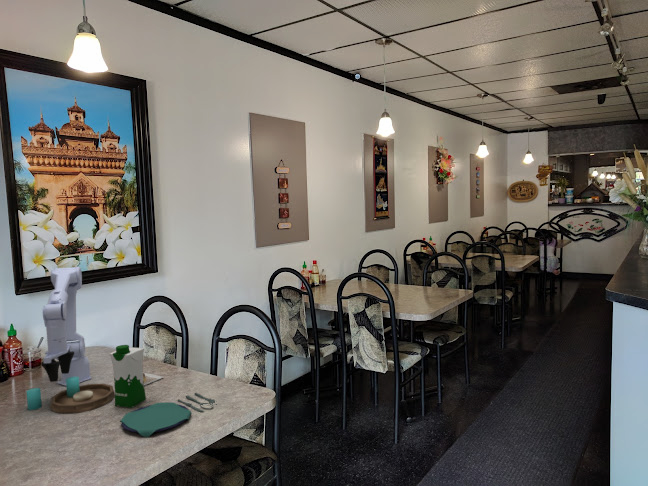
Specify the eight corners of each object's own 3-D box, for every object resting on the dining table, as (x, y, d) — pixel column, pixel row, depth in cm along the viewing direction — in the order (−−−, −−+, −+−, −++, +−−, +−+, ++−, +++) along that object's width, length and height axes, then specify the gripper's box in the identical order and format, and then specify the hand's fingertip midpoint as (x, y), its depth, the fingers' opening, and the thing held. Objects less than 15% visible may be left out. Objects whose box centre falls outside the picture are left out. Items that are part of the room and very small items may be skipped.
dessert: (137, 390, 173) (137, 377, 173) (116, 385, 179) (115, 372, 179) (164, 379, 183) (163, 367, 183) (143, 375, 189) (142, 363, 189)
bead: (37, 404, 162) (36, 387, 162) (44, 406, 160) (42, 389, 160) (25, 408, 159) (24, 391, 158) (31, 411, 157) (30, 393, 156)
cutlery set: (109, 424, 145) (109, 416, 145) (194, 394, 168) (194, 388, 168) (141, 445, 132) (141, 437, 132) (229, 410, 155) (229, 403, 154)
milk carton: (110, 406, 158) (106, 347, 157) (129, 396, 167) (126, 340, 165) (131, 409, 155) (127, 349, 154) (150, 398, 164) (146, 341, 162)
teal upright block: (81, 394, 167) (80, 378, 166) (69, 398, 164) (68, 381, 163) (77, 392, 169) (76, 375, 169) (65, 395, 166) (64, 379, 166)
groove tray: (93, 386, 177) (92, 380, 177) (126, 396, 167) (126, 389, 166) (38, 406, 160) (38, 399, 160) (72, 418, 150) (71, 410, 150)
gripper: (55, 333, 170) (58, 370, 171) (32, 345, 155) (36, 385, 156) (76, 332, 170) (78, 369, 171) (54, 344, 155) (57, 384, 156)
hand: (59, 377), depth 163 cm, fingers open, 7 cm apart
